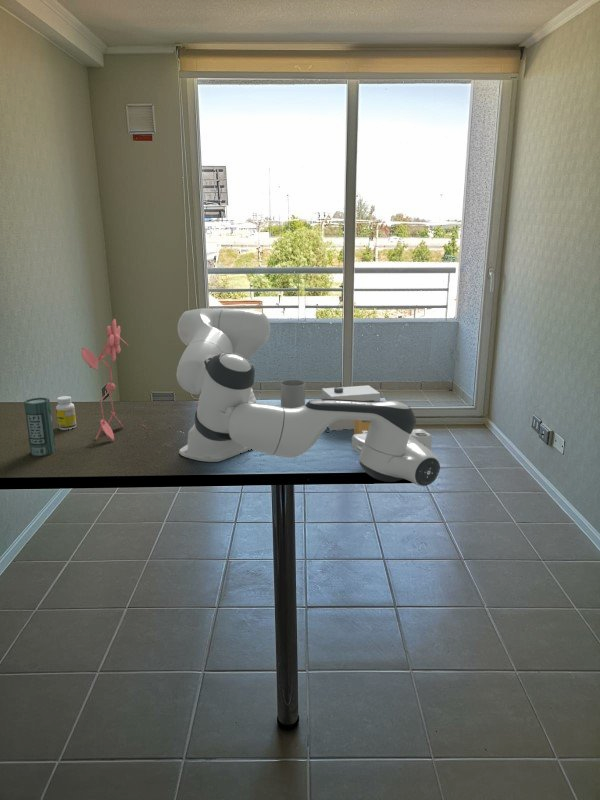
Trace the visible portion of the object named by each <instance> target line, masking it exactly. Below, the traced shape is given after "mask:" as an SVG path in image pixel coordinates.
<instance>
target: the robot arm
mask: <svg viewBox="0 0 600 800" xmlns="http://www.w3.org/2000/svg"><path fill="white" fill-rule="evenodd" d="M178 319H179V320H178V322H177V334H178V337H179V339H180V341H181V342H182V343H183V344H184V345H185V346H187V347H186V348H185V349H184V351H183V353H182V355H181V357H180V359H179V361H178V365H177V368H176V380H177V383H178V385H179V386H180V387H181V388H182V389H183V390H184V391H186V393H189V394H192V395H199V397H198V402H197V403H196V407H197V409H196V411H195V413H194V414H195V415H194V424H193V425H192V426H191V428H190V429H189V430H188V433H187V444H186V445H183V447H181V448H180V449H179V451H178V453H179V454H180V456H183V457H184V458H188V459H191V460H194V461H199V462H207V463H218V462H221V461H224V460H225V461H226V460H227V459H229V458H232V457H233V458H234V456H237V455H241V454H243V453H246V452H248V450H249V451H252V450H253V451H255V452H259V453H263V454H267V455H272V456H275V457H281V458H289V459H290V458H291V459H292V458H297V457H299V456H303V454H305V453H306V452H308V451H309V450H310V449H311V448H313V446H314V445H315V444H316V442H318V440H319V439H320V437H321V436H322V434H323V433H324V432H325V431H326V430H327V429H328V428H327V427H328V426H330V425H331V424H332V423H333V422H335V421H337V420H340V419H351V420H370V421H371V423H370V426H369V429H368V431H367V430H366V431H361V434H354V433H353V435H352V436H351V447H352V449H353V450H355V452H357V453H359V458H358V463H359V465H360V467H361V468H362V469H363V471H364V472H365V473H366V474H367V475H368V476H370V477H371V478H373V479H375V480H377V481H380V482H381V481H382V482H385V483H387V482H388V483H392V482H393V483H394V482H397V481H402V480H407V481H409V482H411V483H412V484H414V485H417V486H418V487H427V486H430V485H431V484H432V483H434V481H436V479H438V476H439V474H440V471H441V464H440V460H439V459H438V457H437V455H436V454H435V453H434V452H433V451H432V445H433V442H432V441H433V440H432V439H433V437H432V434H431V433H428V432H427V431H426V430H425V429H421V428H415V426H416V423H417V419H416V416H415V414H414V411H413V410H412V408H411V406H410V405H408V404H405V403H403V402H401V401H397V400H380V401H358V400H341V399H322V398H316V399H315V398H314V399H310V400H308V401H307V402H305V405H304V406H301V407H297V408H284V407H281V406H280V405H279V406H278V405H274V404H267V403H266V404H265V403H258V402H256V403H252V402H251V401H249V402H248V400H249V396H250V392H251V388H252V386H253V385H254V382H255V376H256V375H255V374H256V373H255V371H256V370H255V366H254V365H253V364H252V363H251V359H252V357H253V356H254V355H255V354H256V352H258V351H259V350H260V349H261V348H263V347H264V346H265V345H266V343H268V341H269V338H270V335H271V329H272V327H271V324H270V321H269V319H268V317H267V316H266V314H265V313H264V312H261V311H258V310H253V309H248V308H208V307H207V308H205V307H204V308H197V309H196V308H195V309H190V310H185V311H183V313H182V315H180V317H179V318H178ZM251 449H252V450H251ZM240 453H241V454H240Z"/></svg>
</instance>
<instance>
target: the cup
mask: <svg viewBox="0 0 600 800" xmlns="http://www.w3.org/2000/svg"><path fill="white" fill-rule="evenodd" d="M304 405H306V381H303V380H299V379H286V380H282V381H281V382H280V407H284V408H297V407H301V406H304Z"/></svg>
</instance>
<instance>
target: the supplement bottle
mask: <svg viewBox="0 0 600 800" xmlns="http://www.w3.org/2000/svg"><path fill="white" fill-rule="evenodd" d="M56 400H57V403H58V404H57V405H56V406H55V410H56V418H57V428H58V429H59V430H62V431H68V429H69V430H73V429H75V428H77V418H76V410H75V408H76V407H75V404H74V403H72V397H71V396H70V395H69V396H68V395H63V396H59V397H57V399H56ZM72 428H73V429H72Z"/></svg>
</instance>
